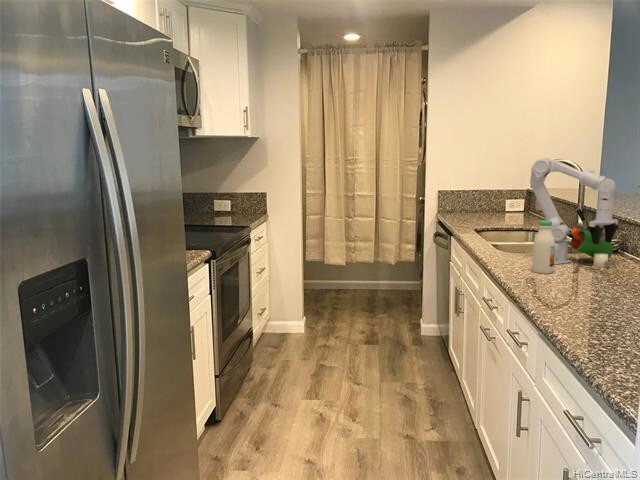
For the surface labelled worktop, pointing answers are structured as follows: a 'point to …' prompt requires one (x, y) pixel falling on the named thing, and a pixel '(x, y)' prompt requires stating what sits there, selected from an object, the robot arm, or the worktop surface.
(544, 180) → the robot arm
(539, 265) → the milk bottle
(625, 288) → the worktop surface
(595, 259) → the cream capsule with tab
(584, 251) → the green vase with flowers
